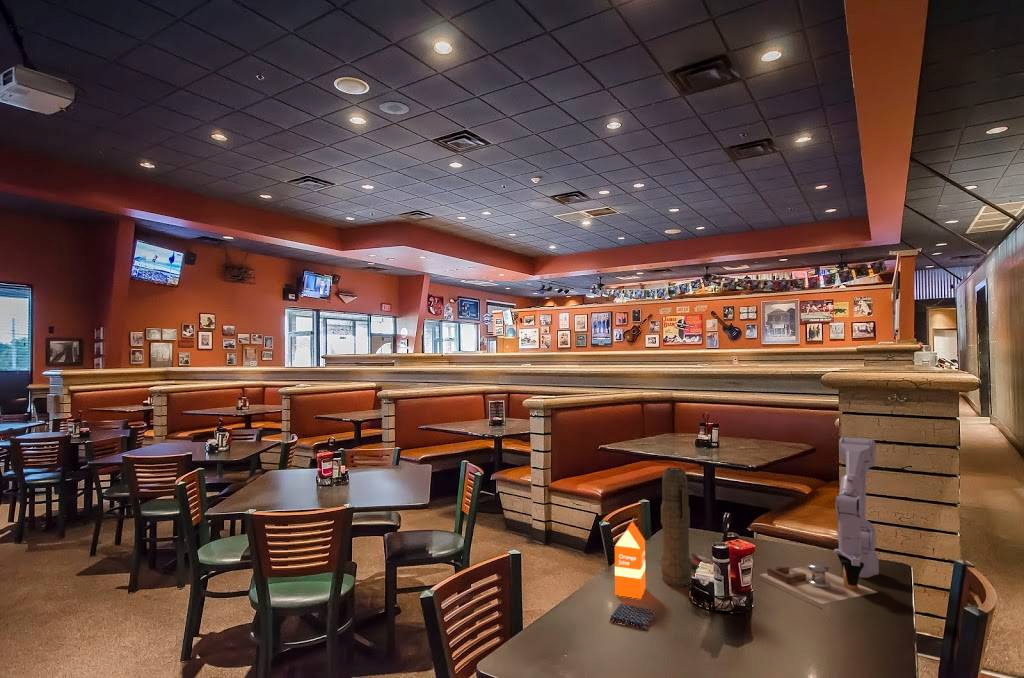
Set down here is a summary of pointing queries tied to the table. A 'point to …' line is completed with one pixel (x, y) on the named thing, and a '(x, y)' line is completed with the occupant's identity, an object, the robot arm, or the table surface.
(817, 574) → the bobbin
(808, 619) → the table surface
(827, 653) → the table surface
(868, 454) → the robot arm
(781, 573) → the notch block
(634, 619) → the woven mat
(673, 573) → the thermos
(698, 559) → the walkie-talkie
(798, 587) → the jig board
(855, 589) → the peg
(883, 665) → the table surface
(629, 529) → the orange juice
